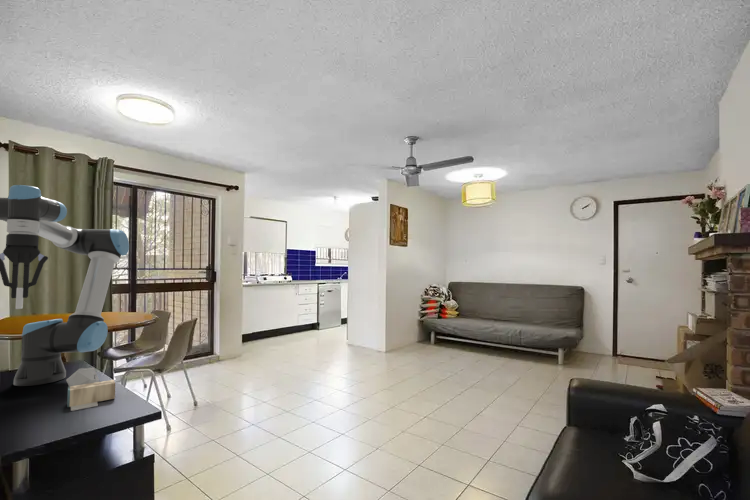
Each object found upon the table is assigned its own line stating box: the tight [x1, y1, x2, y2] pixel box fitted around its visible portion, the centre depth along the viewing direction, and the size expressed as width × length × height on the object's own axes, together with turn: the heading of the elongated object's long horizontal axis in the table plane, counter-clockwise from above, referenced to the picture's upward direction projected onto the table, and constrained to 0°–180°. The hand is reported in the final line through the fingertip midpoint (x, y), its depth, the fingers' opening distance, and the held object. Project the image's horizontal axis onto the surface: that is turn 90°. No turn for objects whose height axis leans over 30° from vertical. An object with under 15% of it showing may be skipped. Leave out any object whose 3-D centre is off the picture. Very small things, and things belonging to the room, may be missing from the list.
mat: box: [70, 402, 99, 412], centre depth 119 cm, size 12×6×1 cm, turn 40°
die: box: [65, 367, 100, 387], centre depth 131 cm, size 8×9×10 cm
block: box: [66, 379, 116, 408], centre depth 120 cm, size 5×5×12 cm
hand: (19, 308), depth 118 cm, fingers closed
